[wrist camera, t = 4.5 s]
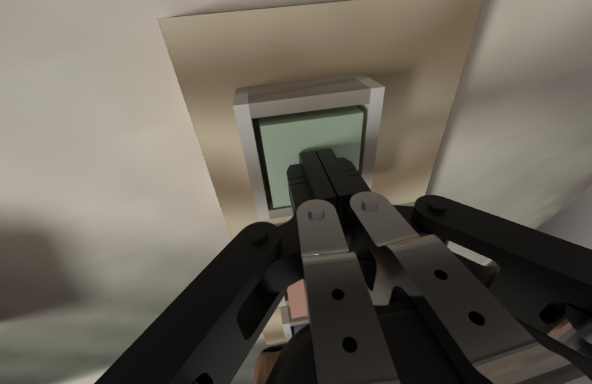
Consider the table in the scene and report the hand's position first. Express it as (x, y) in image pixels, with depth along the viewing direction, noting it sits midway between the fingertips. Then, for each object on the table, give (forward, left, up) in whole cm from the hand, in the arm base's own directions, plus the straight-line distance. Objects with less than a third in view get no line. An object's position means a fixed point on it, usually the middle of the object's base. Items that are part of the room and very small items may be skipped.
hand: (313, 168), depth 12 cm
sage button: (0, 0, -2) cm, 2 cm away
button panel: (+9, +1, -5) cm, 10 cm away
